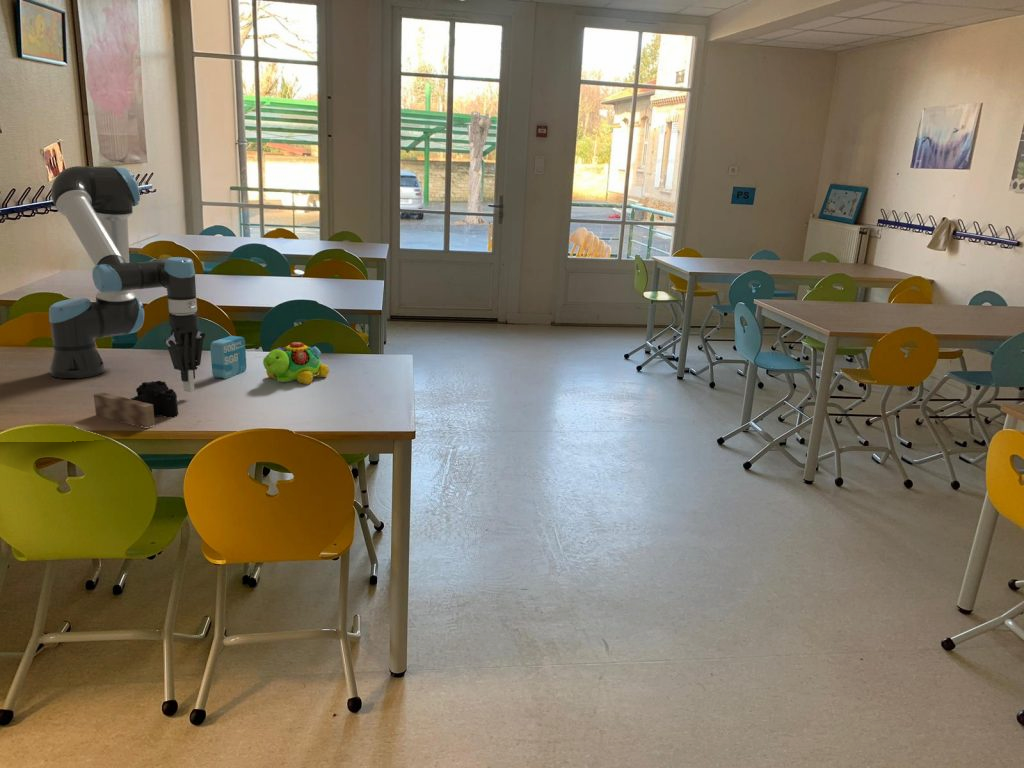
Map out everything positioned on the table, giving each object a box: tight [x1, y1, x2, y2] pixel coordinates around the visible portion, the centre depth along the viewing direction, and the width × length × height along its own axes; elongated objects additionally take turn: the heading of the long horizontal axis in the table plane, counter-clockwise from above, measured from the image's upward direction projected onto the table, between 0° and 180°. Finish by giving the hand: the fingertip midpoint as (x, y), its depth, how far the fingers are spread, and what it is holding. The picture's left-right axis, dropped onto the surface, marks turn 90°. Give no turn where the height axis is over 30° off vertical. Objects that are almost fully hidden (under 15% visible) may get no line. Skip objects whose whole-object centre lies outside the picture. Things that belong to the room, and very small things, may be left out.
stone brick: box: [93, 391, 156, 428], centre depth 200 cm, size 20×2×6 cm, turn 64°
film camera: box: [130, 380, 179, 418], centre depth 205 cm, size 15×10×9 cm, turn 58°
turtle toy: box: [262, 341, 330, 385], centre depth 242 cm, size 17×23×12 cm
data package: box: [209, 335, 247, 380], centre depth 244 cm, size 12×4×12 cm, turn 163°
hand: (189, 390), depth 220 cm, fingers closed
